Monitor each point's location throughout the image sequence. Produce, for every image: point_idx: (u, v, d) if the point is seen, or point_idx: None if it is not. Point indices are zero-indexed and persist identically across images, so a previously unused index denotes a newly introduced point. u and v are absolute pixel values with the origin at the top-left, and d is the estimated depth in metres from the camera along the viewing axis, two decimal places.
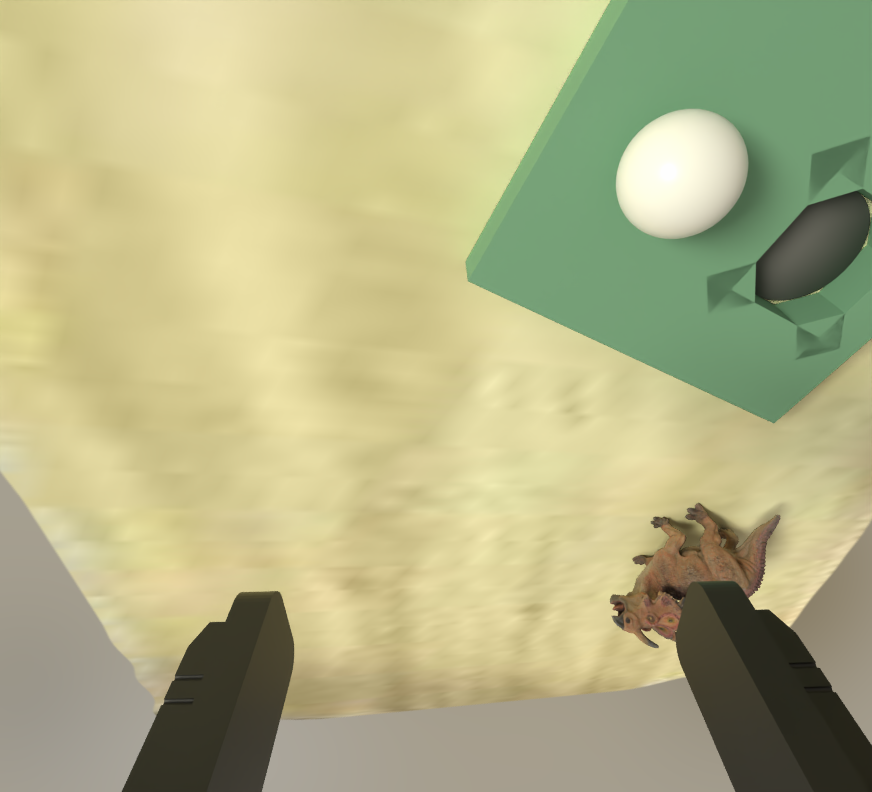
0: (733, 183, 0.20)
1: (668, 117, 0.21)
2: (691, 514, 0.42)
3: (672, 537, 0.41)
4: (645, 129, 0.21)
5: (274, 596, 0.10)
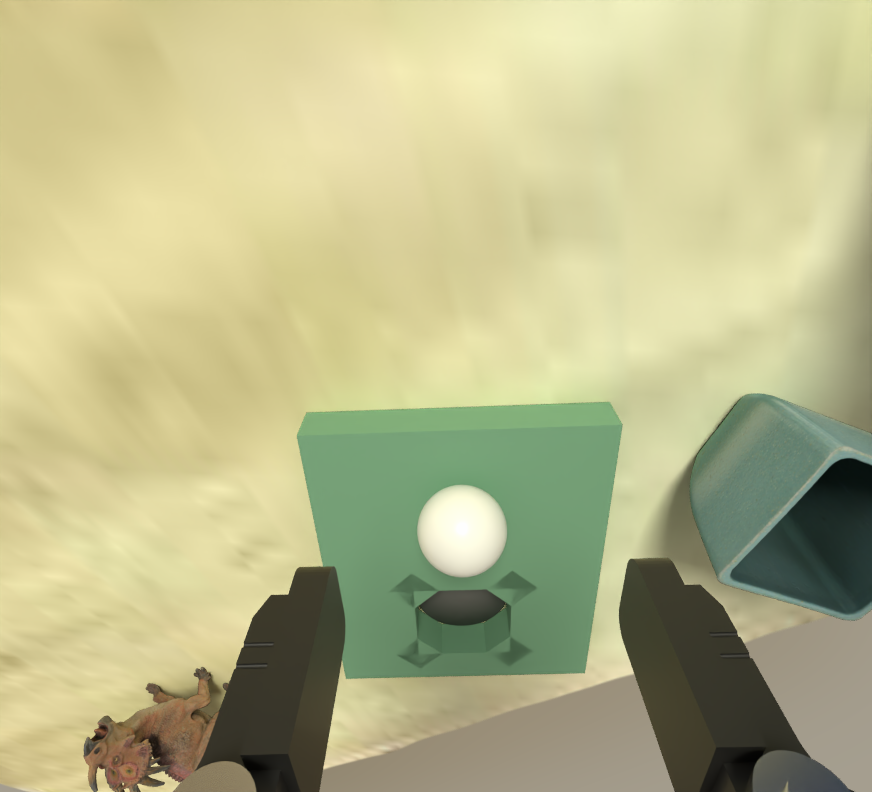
0: (479, 571, 0.28)
1: (489, 503, 0.28)
2: None
3: (199, 696, 0.42)
4: (475, 494, 0.29)
5: (331, 570, 0.10)
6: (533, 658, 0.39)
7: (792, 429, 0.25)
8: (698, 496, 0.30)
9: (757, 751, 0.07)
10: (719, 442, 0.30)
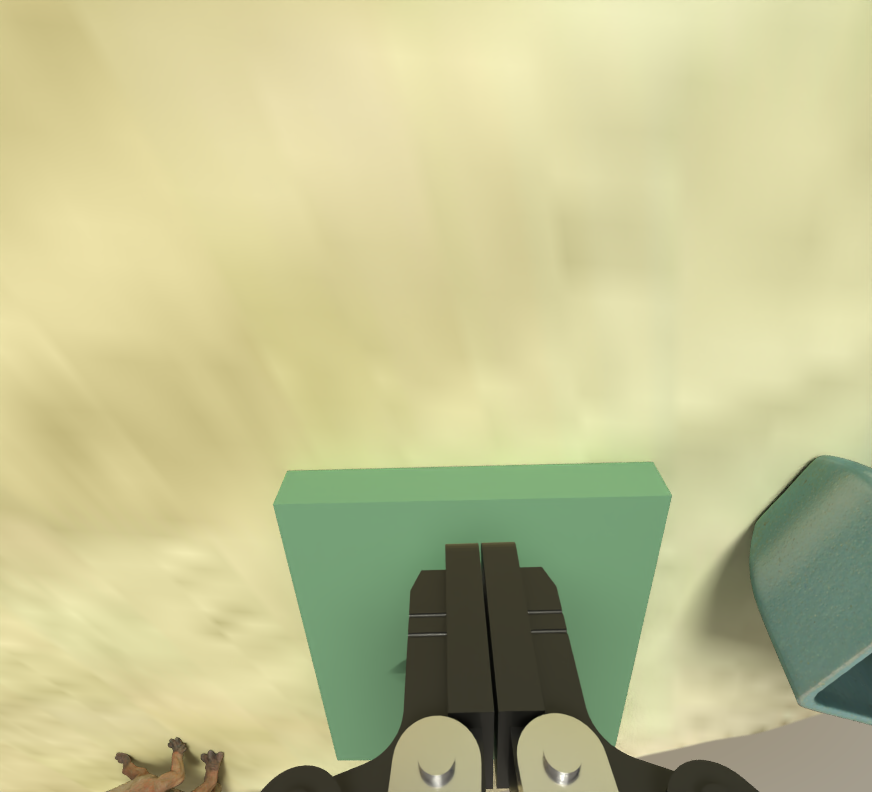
0: None
1: None
2: (207, 757, 0.40)
3: (172, 773, 0.37)
4: None
5: (478, 547, 0.11)
6: None
7: None
8: (763, 582, 0.24)
9: (537, 715, 0.08)
10: (789, 515, 0.25)
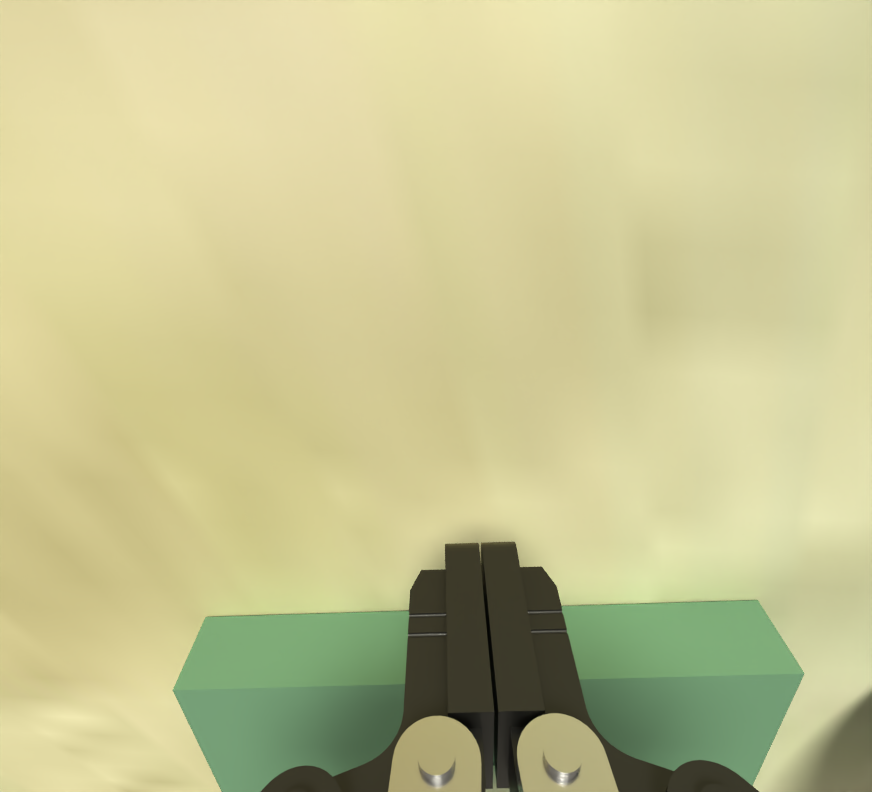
0: None
1: None
2: None
3: None
4: None
5: (478, 546, 0.11)
6: None
7: None
8: None
9: (538, 715, 0.08)
10: None
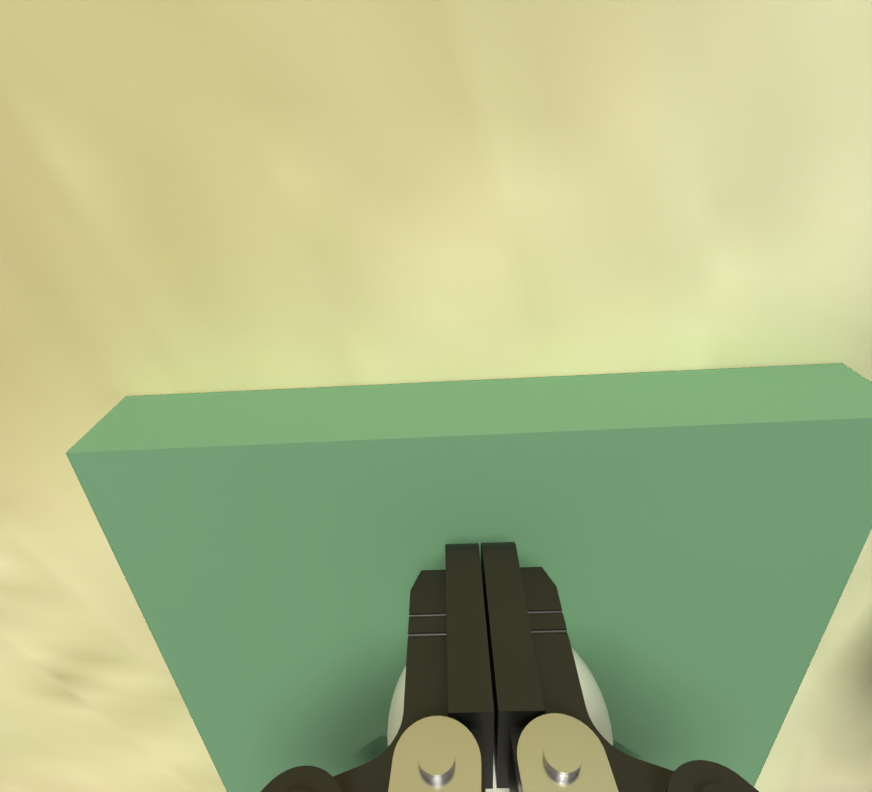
0: None
1: None
2: None
3: None
4: None
5: (478, 546, 0.11)
6: None
7: None
8: None
9: (538, 715, 0.08)
10: None
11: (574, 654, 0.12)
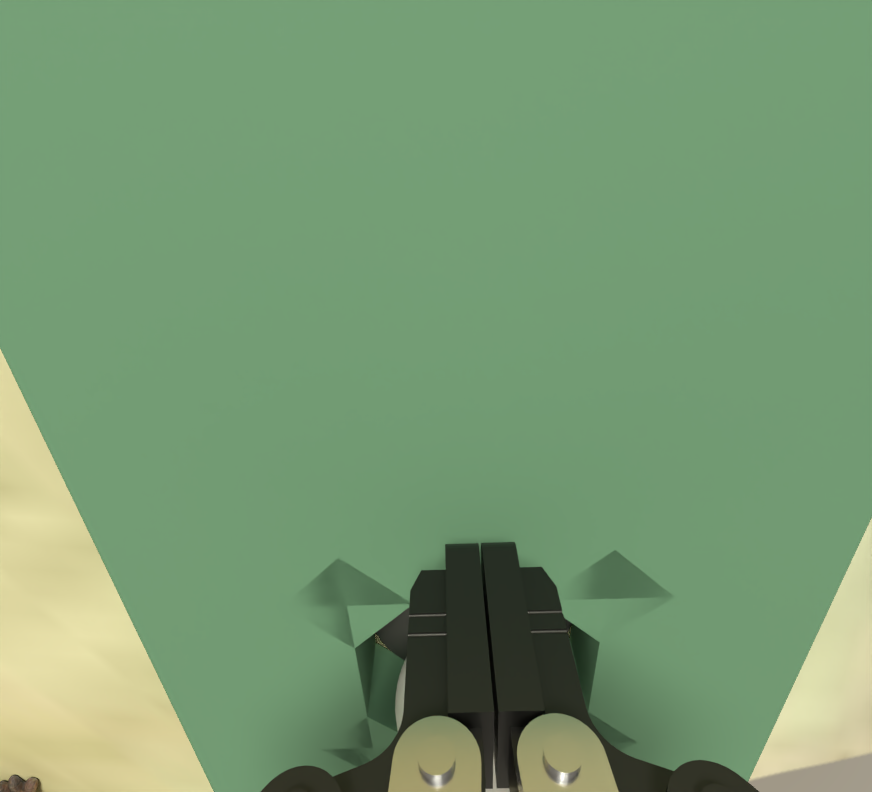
0: None
1: None
2: (9, 787, 0.23)
3: None
4: None
5: (478, 546, 0.11)
6: (636, 756, 0.17)
7: None
8: None
9: (538, 715, 0.08)
10: None
11: None
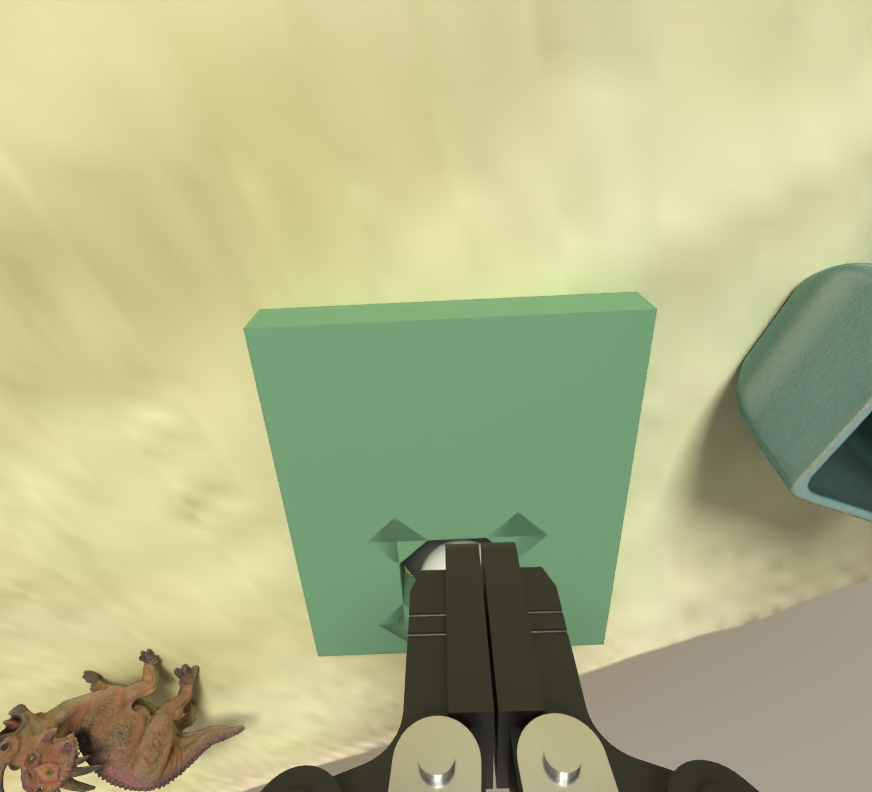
0: None
1: None
2: (181, 672, 0.38)
3: (143, 682, 0.35)
4: None
5: (478, 547, 0.11)
6: None
7: None
8: (752, 401, 0.24)
9: (538, 715, 0.08)
10: (775, 335, 0.24)
11: None
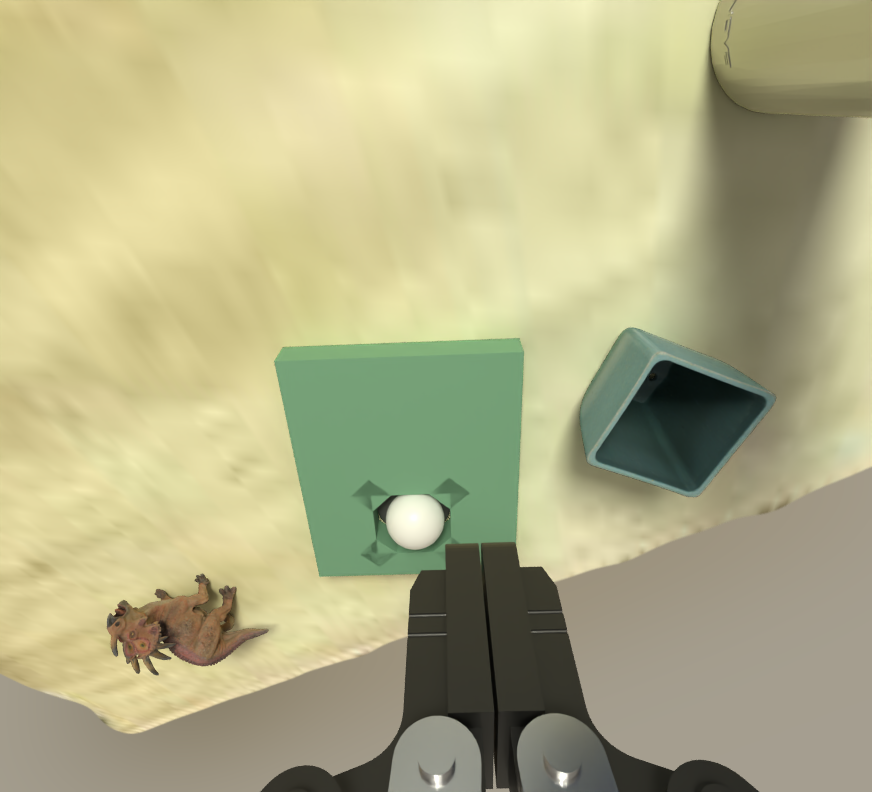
0: None
1: None
2: (224, 591, 0.53)
3: (199, 595, 0.51)
4: None
5: (478, 547, 0.11)
6: None
7: (636, 346, 0.34)
8: (584, 408, 0.39)
9: (538, 715, 0.08)
10: (601, 367, 0.39)
11: None
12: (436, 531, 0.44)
